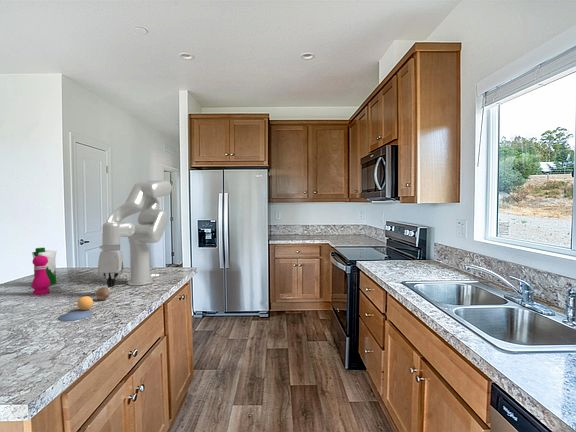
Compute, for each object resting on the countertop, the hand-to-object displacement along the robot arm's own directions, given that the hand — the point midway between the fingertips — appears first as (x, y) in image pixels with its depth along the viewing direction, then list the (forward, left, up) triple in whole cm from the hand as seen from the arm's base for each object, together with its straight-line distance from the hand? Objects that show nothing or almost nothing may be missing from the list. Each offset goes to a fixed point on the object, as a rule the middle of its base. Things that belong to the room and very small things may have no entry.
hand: (111, 286), depth 154 cm
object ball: (+14, +17, -1) cm, 22 cm away
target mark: (+19, +23, -4) cm, 30 cm away
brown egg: (+5, +7, -1) cm, 9 cm away
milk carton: (+20, -45, -4) cm, 50 cm away
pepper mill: (+24, -25, -4) cm, 35 cm away
